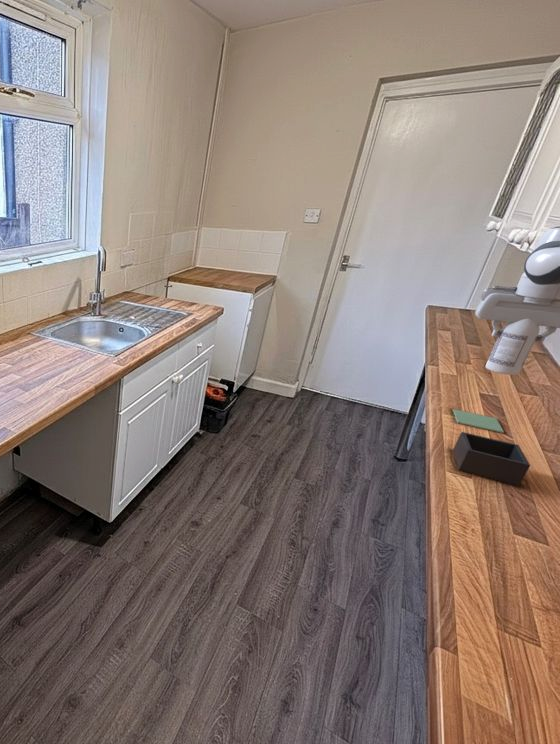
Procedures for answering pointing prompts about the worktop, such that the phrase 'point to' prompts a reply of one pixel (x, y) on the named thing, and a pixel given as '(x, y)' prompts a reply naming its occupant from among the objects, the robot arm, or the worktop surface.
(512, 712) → the worktop surface
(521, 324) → the bath foam
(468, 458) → the holder
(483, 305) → the robot arm
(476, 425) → the mat
